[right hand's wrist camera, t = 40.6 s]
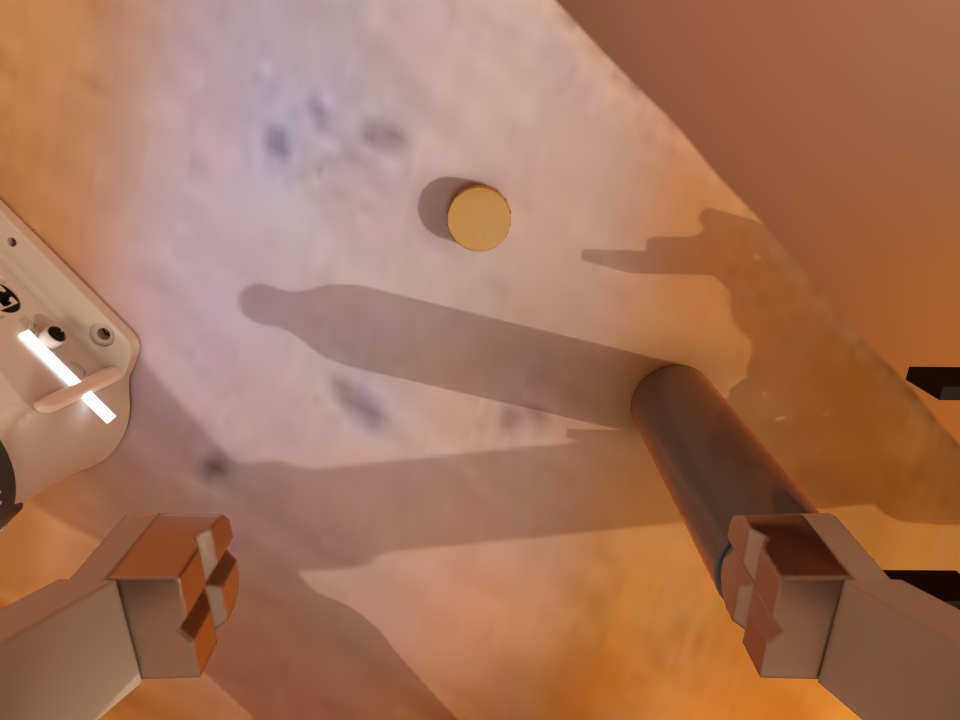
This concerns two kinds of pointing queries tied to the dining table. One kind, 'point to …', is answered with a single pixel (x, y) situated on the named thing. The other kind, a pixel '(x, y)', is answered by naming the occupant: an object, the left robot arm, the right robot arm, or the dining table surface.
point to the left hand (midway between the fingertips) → (890, 493)
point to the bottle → (709, 460)
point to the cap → (479, 218)
